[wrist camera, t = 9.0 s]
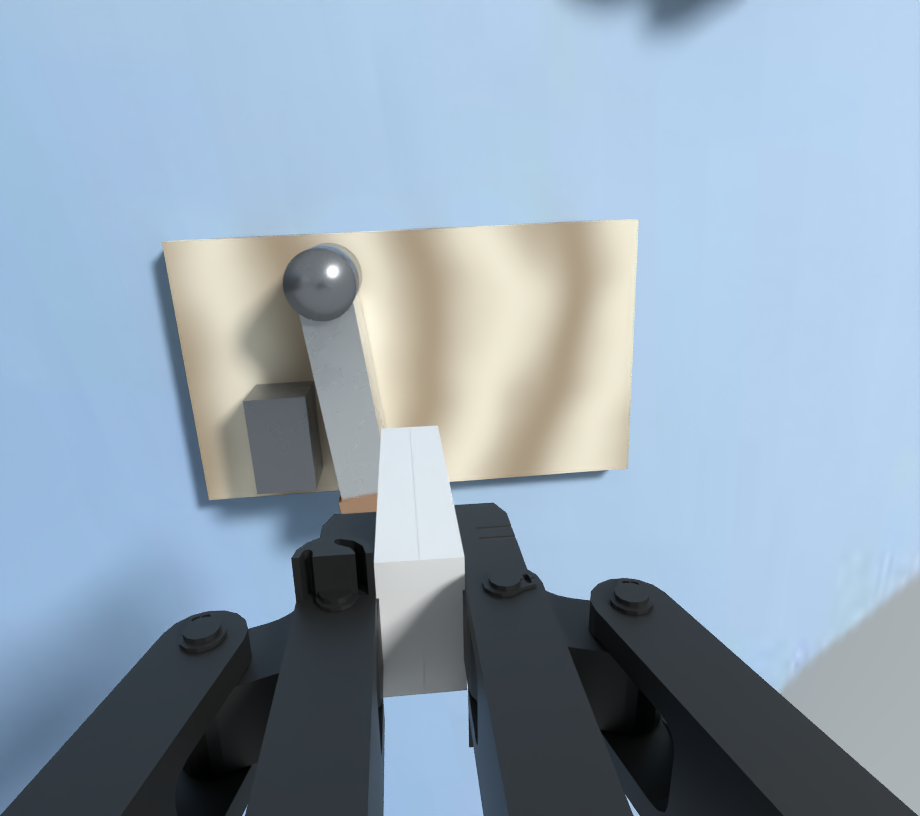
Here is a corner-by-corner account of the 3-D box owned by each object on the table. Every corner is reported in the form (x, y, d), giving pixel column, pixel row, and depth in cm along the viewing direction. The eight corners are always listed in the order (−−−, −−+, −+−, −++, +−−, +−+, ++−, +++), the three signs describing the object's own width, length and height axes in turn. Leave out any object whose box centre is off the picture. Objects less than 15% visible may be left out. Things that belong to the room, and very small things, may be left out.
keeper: (268, 470, 35) (257, 494, 32) (256, 384, 33) (242, 401, 31) (323, 466, 35) (316, 489, 32) (313, 380, 34) (305, 396, 31)
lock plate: (216, 488, 37) (209, 500, 35) (172, 240, 32) (161, 242, 31) (619, 458, 38) (627, 468, 37) (628, 219, 34) (638, 219, 33)
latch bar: (291, 248, 31) (274, 254, 27) (355, 238, 31) (348, 242, 27) (346, 489, 36) (339, 526, 31) (402, 479, 36) (402, 515, 32)
